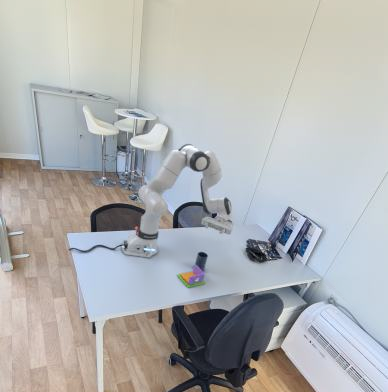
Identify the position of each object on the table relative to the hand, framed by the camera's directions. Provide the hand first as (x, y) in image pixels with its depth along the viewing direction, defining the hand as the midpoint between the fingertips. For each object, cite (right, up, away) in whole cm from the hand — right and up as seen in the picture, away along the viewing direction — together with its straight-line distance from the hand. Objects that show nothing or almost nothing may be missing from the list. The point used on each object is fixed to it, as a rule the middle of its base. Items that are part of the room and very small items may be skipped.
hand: (213, 229), depth 177 cm
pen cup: (-9, -24, +4) cm, 26 cm away
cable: (+32, -13, +32) cm, 47 cm away
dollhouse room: (-14, -31, -7) cm, 34 cm away
